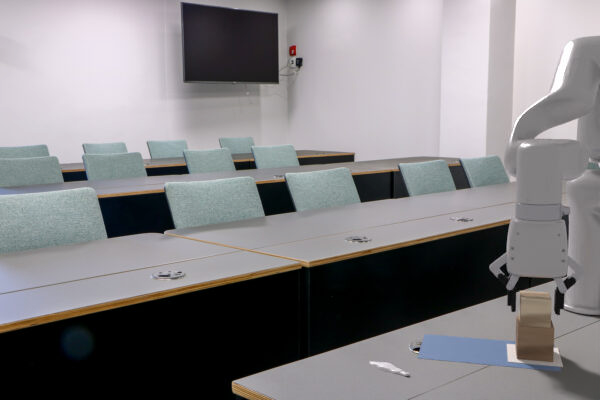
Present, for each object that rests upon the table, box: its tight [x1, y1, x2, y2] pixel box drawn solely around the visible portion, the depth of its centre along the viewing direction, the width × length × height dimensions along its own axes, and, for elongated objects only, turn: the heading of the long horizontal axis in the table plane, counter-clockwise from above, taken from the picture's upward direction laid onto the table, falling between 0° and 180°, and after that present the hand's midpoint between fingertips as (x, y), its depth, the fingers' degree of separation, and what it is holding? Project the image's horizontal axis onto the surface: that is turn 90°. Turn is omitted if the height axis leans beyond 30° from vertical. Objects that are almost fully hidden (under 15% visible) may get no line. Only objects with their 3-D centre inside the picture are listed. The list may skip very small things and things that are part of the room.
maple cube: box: [518, 290, 553, 328], centre depth 112 cm, size 5×5×5 cm
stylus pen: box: [369, 361, 410, 377], centre depth 110 cm, size 15×3×2 cm, turn 41°
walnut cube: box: [515, 315, 555, 362], centre depth 113 cm, size 6×6×6 cm
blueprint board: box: [417, 333, 564, 372], centre depth 115 cm, size 24×13×1 cm, turn 73°
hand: (534, 310), depth 112 cm, fingers open, 6 cm apart
